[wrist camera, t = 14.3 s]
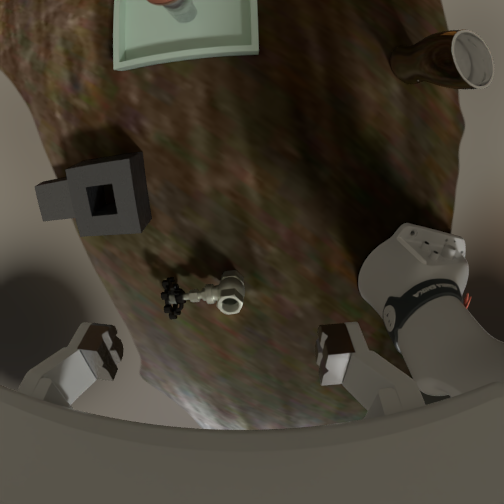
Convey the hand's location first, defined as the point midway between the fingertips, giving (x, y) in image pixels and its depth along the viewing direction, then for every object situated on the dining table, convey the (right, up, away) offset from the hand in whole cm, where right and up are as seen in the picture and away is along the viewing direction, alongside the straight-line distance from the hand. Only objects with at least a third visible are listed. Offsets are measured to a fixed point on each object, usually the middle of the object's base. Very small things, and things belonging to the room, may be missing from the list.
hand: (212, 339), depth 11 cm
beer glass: (+23, +30, +20) cm, 42 cm away
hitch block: (-23, +12, +28) cm, 38 cm away
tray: (-7, +34, +17) cm, 38 cm away
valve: (-5, -1, +36) cm, 37 cm away
